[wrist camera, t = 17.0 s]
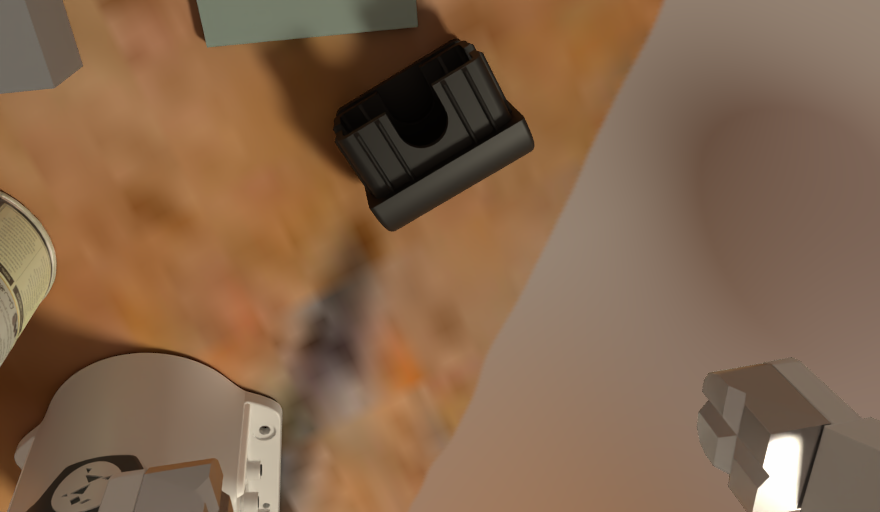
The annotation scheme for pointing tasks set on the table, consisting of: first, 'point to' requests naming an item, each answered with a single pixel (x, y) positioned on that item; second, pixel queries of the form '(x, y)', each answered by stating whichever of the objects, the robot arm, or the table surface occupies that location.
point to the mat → (299, 18)
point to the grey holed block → (35, 45)
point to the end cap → (430, 133)
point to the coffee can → (21, 269)
